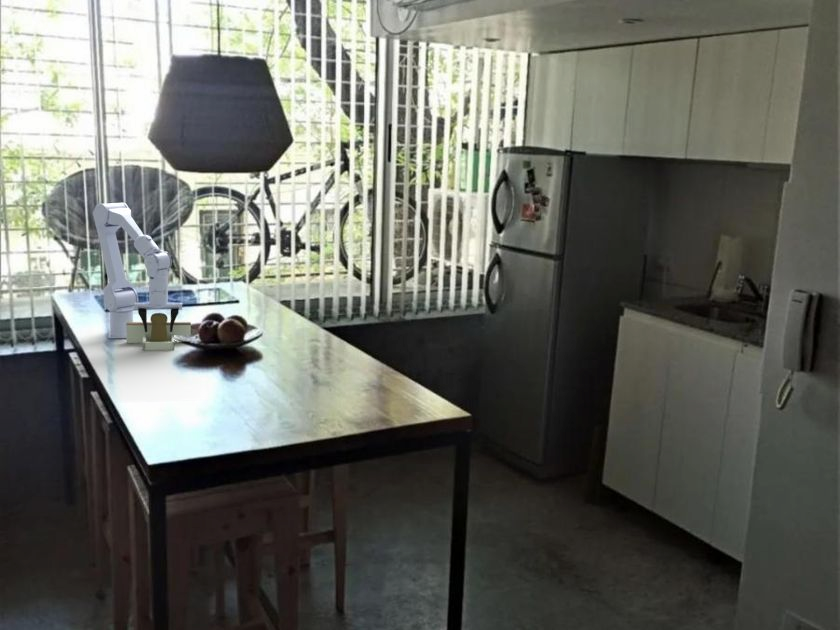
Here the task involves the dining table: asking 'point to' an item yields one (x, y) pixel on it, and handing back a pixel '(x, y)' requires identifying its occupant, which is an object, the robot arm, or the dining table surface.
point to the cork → (159, 328)
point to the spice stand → (140, 336)
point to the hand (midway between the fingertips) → (158, 331)
